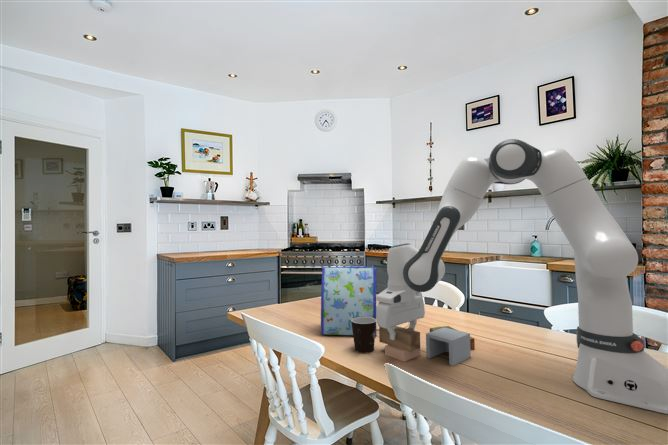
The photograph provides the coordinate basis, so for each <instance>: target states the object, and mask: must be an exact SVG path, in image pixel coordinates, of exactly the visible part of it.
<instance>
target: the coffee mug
mask: <svg viewBox="0 0 668 445" xmlns="http://www.w3.org/2000/svg"><path fill="white" fill-rule="evenodd" d="M351 324H352V331H353V335H352V337H353V343H354V344H353V345H354V350H355V352H357V353H361V354H370V353H372V352H374V350H375V342H376V341H375V340H376V336H375V331H376V330H377V318H376V319H374V318H370V317H357V318H353V319H352V320H351ZM376 332H377V331H376Z"/></svg>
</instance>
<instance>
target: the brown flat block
mask: <svg viewBox="0 0 668 445" xmlns="http://www.w3.org/2000/svg"><path fill="white" fill-rule="evenodd" d="M444 327H445V328H449V329H453V330H457V331H459V330H458V329H455V328H454V327H451V326H449V325H445V326H439V327H438V326H436V327H430V328H429V332H432V331H435V330H438V329H441V328H444ZM475 344H476V342H475V338H474V337H472V336H470V351H475V349H476V347H475V346H476V345H475Z"/></svg>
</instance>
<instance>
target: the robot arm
mask: <svg viewBox="0 0 668 445" xmlns="http://www.w3.org/2000/svg"><path fill="white" fill-rule="evenodd" d="M525 180H529V181H530V182H532V183H533V184H534V185H535V186H536V188H537V189H538V191H539V192H540V194H541V196H542V199H543V200H544V202H545V204H546V205H547V207H548V210H549V211H550V213H551V215H552V216H553V218H554V220H555V221H556V224H557V225H558V226H559V228H560V229H561V231H562V233H563V234H564V236H565V238H566V239H567V241H568V243H569V244H570V246H571V247H572V249H573V259H574V260H573V261H574V272H575V273H574V274H575V282H576V291H577V301H578V302H577V308H578V311H577V312H578V326H577V327H576V333H575V334H576V344H577V346H576V347H577V348H578V349H577V350H578V351H577V361H576V366H575V370H574V373H573V376H572V381H573V382H574V383H575V384H576V385H577V386H579V387H580V388H582V389H584V390H585V391H586V392H588V394H589V395H590V396H592V397H594V398H596V399H597V398H598V399H602V400H607V401H610V402H614V403H619V404H623V405H627V406H632V407H635V408H639V409H644V410H648V411H653V412H657V413H660V414H665V415H668V367H666V366H665V365H664V364H662V363H661V362H659V361H658V360H657V359H655V358H654V357H653V356H651V355H650V354H649V353H647V352H646V351H645V338H644V336H641V337H640V336H639V335H637V334H635V333H634V331H633V330H634V328H633V327H634V324H633V323H634V322H633V320H634V318H633V301H632V298H631V292H630V288H629V284H628V278H627V276H629V275H631V274H632V273H633V272H635V270H636V268H637V266H638V264H639V255H638V251H637V249H636V248H635V246H634V245H633V244H632V242H631V241H630V240H629V238H628V236H627V235H626V234H625V232H624V230H623V229H622V228H621V227H620V225H619V224H618V222H617V221H616V220H615V218H614V217H613V215H612V214H611V213H610V212H609V210H608V209H607V208H606V206H605V205H604V203H603V202H602V200H601V198H600V197H599V195H598V194H597V191H596V190H595V188H594V187H593V185H592V184H591V181H590V180H589V178H588V177H587V175H586V173H585V172H584V170H583V169H582V167H581V166H580V165H579V163H578V162H577V161H576V160H575V158H574V157H573V156H571V153H569V152H568V151H567V150H566V149H563V148H560V147H559V148H550V149H547V150H545V151H541V149H539V148H536V147H534V146H533V145H530V144H529V143H527V142H525V141H523V140H520V139H517V138H511V139H505V140H502V141H501V142H499V143H498V144H496V146H494V147H493V149H492V150H491V152H490V154H489V156H488V157H487V158H483V157H480V156H475V155H474V156H466V157H464V158H463V159H462V160H461V161H460V162H459V163H458V166H457V167H456V169H455V170H454V171H453V173H452V175H451V177H450V179H449V181H448V183H447V185H446V187H445V188H444V191H443V194H442V197H441V200H440V203H439V206H438V209H437V212H436V215H435V217H434V221H433V222H432V224H431V227H430V229H429V231H428V232H427V234H426V237H425V239H424V240H423V243H422V244H421V246H420V248H417V247H415V246H414V245H413V244H412V243H402V244H396V245H392V246H391V247H389V248H388V252H387V259H386V273H387V276H388V280H387V287H386V288H385V289H384V290H382V291H381V292H379V293H378V294H376V302H378V303H377V304H376V306H377V311H376V325H377V326H378V328H379V327H382V328H387V330H388V332H389V334H390V339H391V340H395V339H397V334H396V333H395V332H394V329H395V326H399V325H402V324H406V323H409V326H408V327H407V328H406V329H410V330H414V331H415V328H416V326H417V323H418V322H417V320H419V319H423V318H424V317H425V314H426V311H425V302H424V298H423V294H422V293H425V292H429V291H431V290H432V289H433V288H434V287H435V286H436V285H437V284H438V283H439V282H440V281H441V280H442V279H443V278H444V277H445V274H446V264H445V262H444V260H443V259H442V256H443V254H444V253H445V250H446V249H447V247H448V245H449V242H450V241H451V239H452V237H453V236H454V235H455V233H456V232H457V231H458V230H460V228H461V227H462V226H464V225H465V224H466V223H468V222H469V221H471V219H473V217H474V216H475V214H476V212H477V211H478V209H479V207H480V206H481V204H482V201H483V199H484V198H485V196H486V193H487V192H488V190H489V188H490V187H491V186H492V185H493V184H500V185H501V184H502V185H516V184H520V183H522V182H523V181H525Z"/></svg>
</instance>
